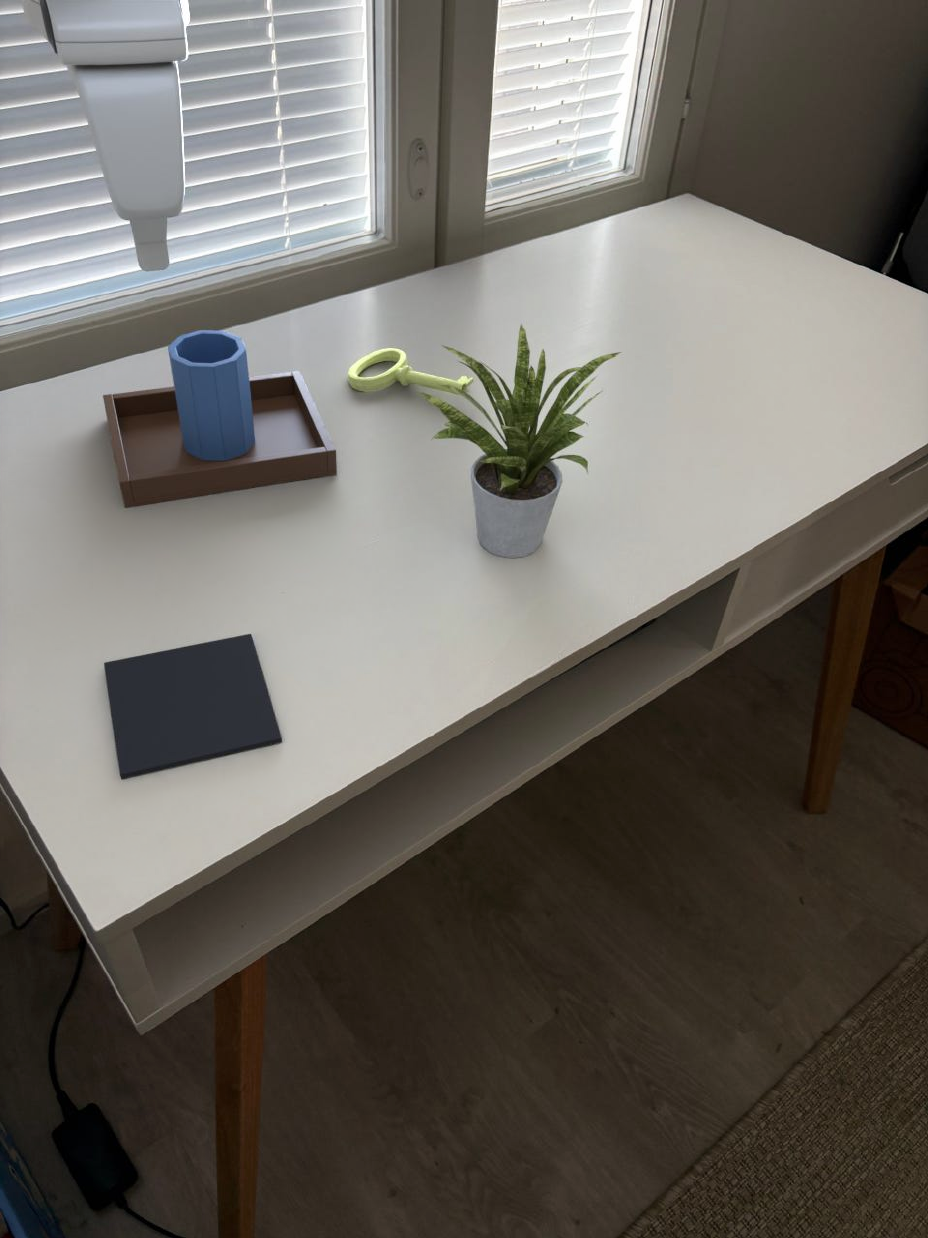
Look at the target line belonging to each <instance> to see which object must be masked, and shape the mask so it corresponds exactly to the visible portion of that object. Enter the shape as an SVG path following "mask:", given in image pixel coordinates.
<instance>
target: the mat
mask: <svg viewBox="0 0 928 1238" xmlns="http://www.w3.org/2000/svg"><path fill="white" fill-rule="evenodd" d="M103 667H104V672H105V673H104V674H105V680H106V681H105V682H106V689H107V695H108V701H109V708H110V709H109V710H110V716H111V723H112V730H113V736H114V744H115V750H116V758H117V765H118V770H119V771H118V772H119V773H118V774H119V776H120V779H121V780H124V779H125V780H126V779H129V778H134V777H137V776H142V775H146V774H151V773H155V772H159V771H164V770H168V769H173V768H178V767H181V766H185V765H190V764H194V763H199V762H203V761H208V760H211V759H215V758H220V757H224V756H225V757H226V756H229V755H233V754H238V753H242V752H247V751H252V750H256V749H259V748H263V747H268V746H269V747H270V746H272V745H277V744H282V743H283V739H282V738H283V737H282V735H281V731H280V728H279V724H278V720H277V717H276V713H275V710H274V707H273V703H272V701H271V697H270V693H269V690H268V686H267V683H266V680H265V676H264V672H263V668H262V666H261V663H260V659H259V655H258V652H257V649H256V645H255V641H254V639H253V635H252V633H245V634H242V635H236V636H231V637H226V638H222V639H216V640H211V641H207V642H202V643H197V644H191V645H186V646H181V647H175V648H170V649H165V650H161V651H155V652H151V653H146V654H140V655H135V656H130V657H126V658H120V659H115V660H111V661H110V660H109V661H105V662H103Z"/></svg>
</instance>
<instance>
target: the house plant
mask: <svg viewBox="0 0 928 1238" xmlns="http://www.w3.org/2000/svg"><path fill="white" fill-rule="evenodd" d="M441 347H443V348H444V349H446V350H447V351H449V352H451V353H452V354H454V356H457V357H458V358H460V359H461V360H463V361H459V360H457V362H458V363H461V364H462V365H464V366H465V367H467V368H469V369H470V370H471V371H472V372H473V373H474V374H475V375H476V376H477V378H478V379H479V381H480V382H481V383H482V386H483V387H484V390H485V392H486V394H487V397H488V399H489V402H490V404H491V406H492V408H493V410H494V413H495V415H496V418H497V420H498V422H499V425H500V429H501V431H502V433H503V435H502V434H501V432H500V430H499V429H498V428H497V426H496V424H495V422H494V421H493V419H492V418H491V416H490V414H489V413H488V412H487V411H486V410H485V408H484V407H483V406H482V405H481V404H480V402H478V401H477V400H476V399H474V398H473V397H472V396H471V395H470V394H469V393H467V391H466V392H464V391H462V390H460V389H458V388H456V387H453V386H450V385H441V386H443V387H446V388H448V389H451V390H453V391H455V392H457V393H459V394H460V395H459V396H461V397H463V398H465V399H467V401H468V402H470V403H471V404H472V405H474V406H475V408H476V409H477V410H479V411H480V413H481V414H483V416H484V417H485V418H486V419H487V421H488V422H489V423H490V424H491V426H492V427H493V428H494V431H496V433H497V435H498V436H499V437H500V439H501V440H502V442H503V443H504V445H505V446H506V448H505V447H504V446H503V445H502V444H501V443H500V442H499V441H498V440H497V439H496V438H495V437H494V436H493V435H492V434H491V433H490V432H489V431H488V430H487V428H486V429H485V427H484V426H482V425H480V424H479V423H477V422H476V421H474V419H472V418H471V417H470V416H467V415H466V414H464V413H463V412H462V411H460V410H458V409H457V408H456V407H454V406H453V405H451V404H449V403H448V402H446V401H445V400H443V399H441V398H440V397H437V396H434V395H431V394H429V393H425V392H421V391H420V392H418V394H421V395H422V396H423V398H425V400H426V401H427V402H429V403H431V404H432V405H433V406H435V407H436V408H437V409H438V410H439V411H440V412H441V413H442V415H443V416H444V417H445V418H446V419H447V421H448V422H445V423H443V424H442V425H441V427H443V426H444V427H446V428H444V429H441V430H439V431H438V432H437V433H436V434H434V436H433V437H432V438H431V440H434V439H435V440H436V439H437V440H439V439H441V440H443V439H459V440H466V441H469V442H471V443H473V444H474V445H476V446H477V447H478V448H480V449H481V450H482V452H483V453H484V454H482V455H481V456H479V457H478V458H477V459H476V460H475V461H473V464H472V466H471V467H470V481H471V490H472V498H473V506H474V507H473V508H474V516H475V523H476V524H475V525H476V531H477V539H478V542H479V545H481V547H483V549H484V550H486V551H487V552H488V553H490V554H493V555H495V556H497V557H500V558H501V557H502V558H507V559H518V558H524V557H527V556H530V555H532V554H533V553H534V552H536V550H537V549H538V548H539V547H540V546H541V544H542V542H543V539H544V536H545V533H546V530H547V527H548V525H549V521H550V519H551V516H552V513H553V510H554V507H555V504H556V501H557V499H558V495H559V492H560V490H561V487H562V483H563V473H562V471H561V469H560V467H559V466H558V465H557V464H556V463H555V462H554V460H557V459H558V460H559V459H560V460H561V459H562V460H563V459H564V460H568V461H571V462H574V463H576V464H579V465H581V466H582V467H583V468H584V469H585V471H586V474H589V470H588V467H589V466H588V464H589V461H588V460H587V459H586V458H585V457H583V456H581V455H578V454H564V455H563V454H562V455H559V456H556V457H553V456H554V455H556V454H557V453H559V452H561V451H562V450H564V449H566V448H568V447H570V446H573V445H574V444H575V443H577V442H578V441H579V440H581V439H582V438H584V436H583V435H582V434H581V433H578V432H575V431H573V430H574V429H577V428H579V427H581V426H583V425H584V424H586V425H587V426H589V424H588V422H586V421H584V420H582V419H581V418H579V417H577V415H578V414H579V413H580V412H581V411H582V410H583V409H584V408H585V407H586V406H587V405H588V404H589V403H590V402H591V401H593V399H595V398H597V396H598V395H599V394H601V393H602V392H603V391H604V389H602V390H601V391H599V392H598V393H596V394H595V395H593V396H592V397H590V398H589V399H587V400H586V401H585V402H584V403H583V404H581V406H579V407H578V408H577V409H576V410H575V411H574V412H573V413H572V414H571V413H565V412H566V411H567V410H568V409H569V408H570V407H571V406H573V404H574V403H575V402H576V401H577V400H578V399H579V398H580V397H581V396H582V394H583V393H584V392H585V390H586V389H587V388H588V387H589V386H590V385H591V384H592V382H593V381H594V380H595V379H596V378H597V377H598V375H597V376H595V377H593V378H592V379H590V380H589V381H588V382H587V383H585V384H584V385H583V386H581V385H582V384H583V382H585V380H587V379H588V378H589V377H590V376H591V375H592V374H593V373H595V371H596V370H597V369H598V368H599V367H600V366H602V365H603V364H604V363H605V362H606V361H609V360H611V359H613V358H615V357H617V356H618V355H619V354H621V353H623V351H621V352H620V351H619V352H612V353H609V354H604V355H601V356H599V357H595V358H594V359H591V360H590V361H589V362H587V363H586V364H584V365H582V367H578V366H576V367H571V368H567V369H565V370H563V371H562V372H560V373H559V374H558V375H557V376H556V377H555V378H554V379H553V381H551V383H550V384H549V385H548V387H547V389H546V391H545V393H544V395H543V397H542V391H543V385H544V382H545V375H546V371H547V362H546V352H545V349H544V348H543V349H542V350H541V353H540V356H539V359H538V363H537V369H536V370H537V371H536V372H535V369H534V367H533V366H532V365H531V364H530V357H531V356H530V355H531V350H530V345H529V342H528V339H527V332H526V329H525V328H524V326H523V323H521V324H520V326H519V331H518V340H517V350H516V351H517V352H516V362H515V363H516V364H515V369H514V378H513V381H514V382H513V383H514V387H513V391H511V390H510V388H509V387H508V385H507V383H506V382H505V380H504V379H503V378H502V376H500V375H499V374H498V373H497V372H496V371H494V370H493V369H492V368H491V367H489V366H488V365H486V364H485V363H483V362H482V361H480V360H479V361H478V360H477V359H475V358H473V357H472V356H469V355H467V354H465V353H463V352H461V351H459V350H457V349H455V348H453V347H450V346H447V345H443V344H441ZM489 370H490V371H491V372H492V373H491V372H490V371H489ZM493 374H495V375H496V377H497V378H498V380H499V381H500V384H501V385H502V387H503V389H504V391H505V394H506V395H507V398H506V397H505V395H504V393H503V391H502V388H501V387H500V385H499V384H498V381H497V380H496V379H495V377H494V376H493ZM570 374H572V375H571V376H570V377H569V378H568V379H567V381H566V382H565V383H564V385H562V387H561V388H560V390H559V392H558V394H557V396H556V398H555V400H554V402H553V403H552V405H551V407H550V408H549V410H548V412H547V414H546V416H545V417H544V419H543V421H542V423H541V425H540V427H539V430H538V426H539V425H538V424H539V416H540V413H541V411H542V410H543V407H544V406H545V403H546V402H547V400H548V398H549V396H550V395H551V393H552V392H553V390H554V389H555V387H557V386H558V384H560V382H561V381H562V380H564V379H565V378H566V377H567V376H568V375H570ZM438 385H439V384H438ZM580 386H581V387H580ZM579 387H580V389H578V388H579ZM576 390H577V391H576ZM575 392H576V393H575ZM574 393H575V394H574ZM573 394H574V395H573ZM572 395H573V396H572ZM571 396H572V397H571ZM541 397H542V398H541ZM537 430H538V431H537Z"/></svg>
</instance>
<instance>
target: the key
mask: <svg viewBox="0 0 928 1238" xmlns="http://www.w3.org/2000/svg"><path fill="white" fill-rule="evenodd" d="M381 362H395V363H396V364H395V365H393V366H392V367H390V368H389V369H388V370H386V371H384V372H383V373H380V374H377V375H375V376H370V377H362V376H359V375H360V373H362V372H363V371H364V370H365V369H366V368H369V366H372V365H375V364H377V363H381ZM347 381H348V383H349V385H350V386H351V388H353V389H354V390H356V391H360V392H375V391H379V390H382V389H385V388H387V387H389V386H391V385H392V384H394V383H395V382H397V381H399V383H400V385H401V386H403V387H408V386H409V385H410V384H412V385H416V386H421V387H424V388H429V389H433V390H436V391H437V390H438V391H442V392H446V393H450V394H454V395H459V396H461V395H460V394H459V393H457V392H455V391H453V390H451V389H448V388H446V387H443V386H441V385H450V386H453V387H456V388H458V389H460V390H462V391H464V392H466V393H467V390H468V387H470V385H472V384H473V383H474V377H468V376H466V375H462V376H461V377H460V378H458V380H454V379H450V378H445V377H441V376H437V375H433V374H428V373H425V372H424V373H423V372H419V371H415V370H413V368H412V366H410V365H408V358H407V354H406V352H404V350H402V349H398V348H394V347H393V348H392V347H391V348H382V349H379V350H376V351H373V352H371V353H369V354H366V355H365V356H362V357H361V358H360V359H359V360H357V361H356V362H354V363H353V365H351V366H350V368H349V369H348V372H347ZM438 384H439V385H438Z"/></svg>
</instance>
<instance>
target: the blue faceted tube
mask: <svg viewBox="0 0 928 1238" xmlns="http://www.w3.org/2000/svg"><path fill="white" fill-rule="evenodd" d="M167 350H168V357H169V362H170V369H171V375H172V376H171V377H172V383H173V387H174V389H175V395H176V401H177V408H178V414H179V420H180V427H181V433H182V439H183V443H184V447H185V450H186V452H187V453H188V454H190V455H192V456H194V457H196V458H199V459H201V460H204V461H225V460H226V461H227V460H230V459H233V458H236V457H239V456H242V455H245V454H246V453H247V452H248V451H249V450H250V448H251V447H252V446H253V445H254V443H255V433H254V423H253V413H252V403H251V393H250V383H249V377H250V373H249V365H248V355H247V348H246V346H245V343H244V340H243V338H241V337H240V336H237V335H235V334H233V333H230V332H228V331H224V330H212V329H211V330H210V329H200V330H199V329H198V330H195V331H192V332H189V333H188V332H187V333H185V334H181V335H179V336H178V337H176V339H174V340H173V341H172V342H171V343H170V344H169V345H168V347H167Z"/></svg>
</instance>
